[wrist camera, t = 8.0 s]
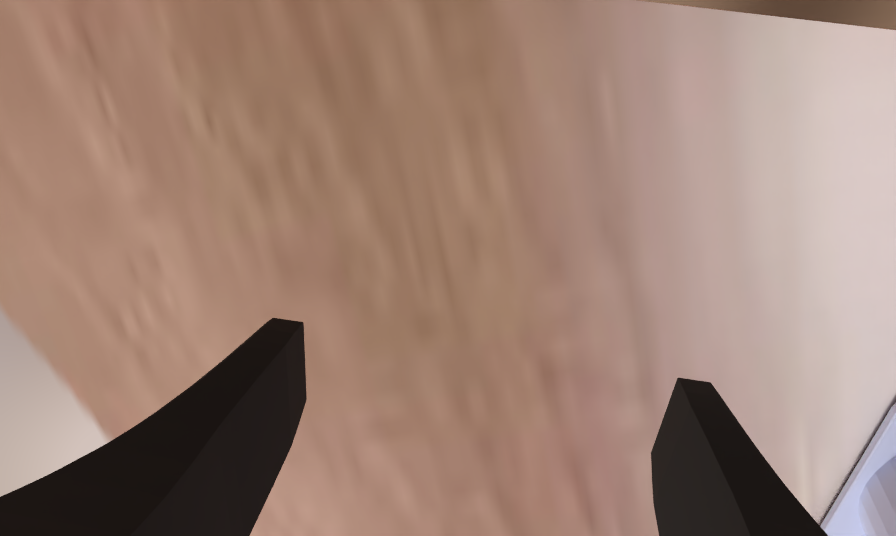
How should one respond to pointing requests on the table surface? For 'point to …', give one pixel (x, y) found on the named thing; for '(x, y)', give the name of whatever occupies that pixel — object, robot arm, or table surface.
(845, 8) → the walnut block
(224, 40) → the table surface
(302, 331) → the robot arm
